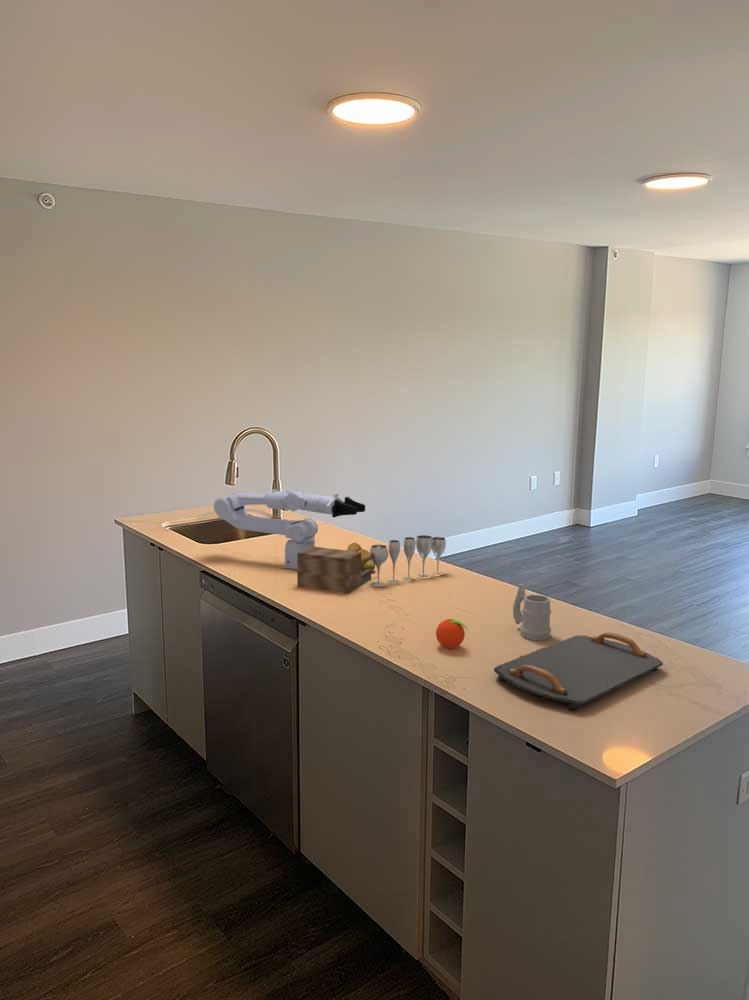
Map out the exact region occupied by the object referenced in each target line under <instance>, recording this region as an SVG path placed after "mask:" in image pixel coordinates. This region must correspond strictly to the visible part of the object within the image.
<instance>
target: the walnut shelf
mask: <svg viewBox="0 0 749 1000" xmlns="http://www.w3.org/2000/svg"><path fill="white" fill-rule="evenodd" d="M296 570H297V571H296V573H297V576H296V577H297V579H296V580H297V583H296V584H297V587H298V586H300V588H305V587H308V588H307V589H312V588H314V590H319V589H320V591H326V590H327V591H326V592H333V591H334V593H339V592H342V593H341V594H346V593H348V594H347V595H349V594H350V593H352V592H354V591H355V590H357V589H358V588H360V587H361V586H363V585H364V584H366V583H367V582H369V581H370V580H371V579H372V571H371V570H369V569H367V570H365V571H363V572H361V552H354V551H347V549H345V550H344V549H337V548H328V547H320V546H315V547H313V546H311V547H309V548H307V549H304V550H302V551H300V552H298V553H297V569H296Z"/></svg>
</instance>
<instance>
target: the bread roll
mask: <svg viewBox="0 0 749 1000" xmlns="http://www.w3.org/2000/svg"><path fill="white" fill-rule="evenodd" d="M346 551H354V552H361V573H362V572H363V571H365V570H367V569H369V570H371V572H373V571H374V570H375V568H376V565H375V563H374V562H373V561H372V560H371V559H370V556H369V553H370V551H368V550H366V549H363V548H362V547H361V545H360V544H359V543H357V542H351V543H350V544H349V545H348V546H347V549H346Z"/></svg>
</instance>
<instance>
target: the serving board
mask: <svg viewBox="0 0 749 1000" xmlns="http://www.w3.org/2000/svg"><path fill="white" fill-rule="evenodd" d="M610 639H613V640H615V641H613V640H612V641H611V640H610ZM617 641H619V642H617ZM621 642H622V643H621ZM663 665H664V662H663V661H662V660H660V659H659V658H658V657H655V656H654V655H653V654H649V653H647V652H646V651H644V650H641V648H640V646H639V645H638V644H637V643H636V642H635V641H634V640H633V639H631V638H629V637H627V636H624V635H623V634H618V633H615V632H603V633H601V634H600V635H598V636H594V635H592V636H589V635H573V636H571V637H568V638H567V639H563V640H560V641H558V642H556V643H553V644H552V645H549V646H546V647H542V648H540V649H537V650H535V651H531V652H530V653H528V654H527V653H526V654H524V655H520V656H518V657H517V658H515V659H512V660H510V661H507V662H504V663H502V664H500V665H497V666H495V667H494V669H493V671H494V673H496V674H497V675H498V676H497V679H498V682H501V683H506V682H508V683H510V684H511V685H513V686H514V687H516V688H518V689H521V690H524V691H526V692H528V693H531V694H534V695H536V696H537V695H538V696H540V697H542V698H547V699H550V700H555V701H558V702H562V703H568V705H567V708H568V710H569V711H571V712H577V711H578V710H579V709H580V706H582V705H585V704H587V703H589V702H592V701H593V700H595V699H597V698H599V697H601V696H603V695H605V694H608V693H610V692H611V691H613V690H616V689H618V688H620V687H622V686H623V685H626V684H629V683H630V682H632V681H634V680H636V679H638V678H640V677H642V676H644V675H646V674H648V673H650V672H652V673H653V672H654V673H655V672H657V671H658V668H660V667H662V666H663Z"/></svg>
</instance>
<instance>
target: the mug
mask: <svg viewBox="0 0 749 1000" xmlns="http://www.w3.org/2000/svg"><path fill="white" fill-rule="evenodd" d="M522 602H523V606H522V609H521V603H522ZM512 605H513V606H512V611H513V612H512V613H513V614H512V616H513V619H514V622H515V624H516V625H519V624H520V623H521V625H520V626H519V627H520V628H519V630H520V635H521V637H522V638H524V639H525V638H526V639H527V640H529V641H530V640H531V641H540V642H541V641H546V640H548V639H549V638H550V634H551V633H552V627H551V622H550V620H551V618H550V617H551V615H552V614H551V613H552V610H551V598H550V597H548V596H546V595H542V594H526V590H525V586H524V584H523V583H519V584H518V589H517V593H516V596H515V599H514V603H513V604H512Z"/></svg>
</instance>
